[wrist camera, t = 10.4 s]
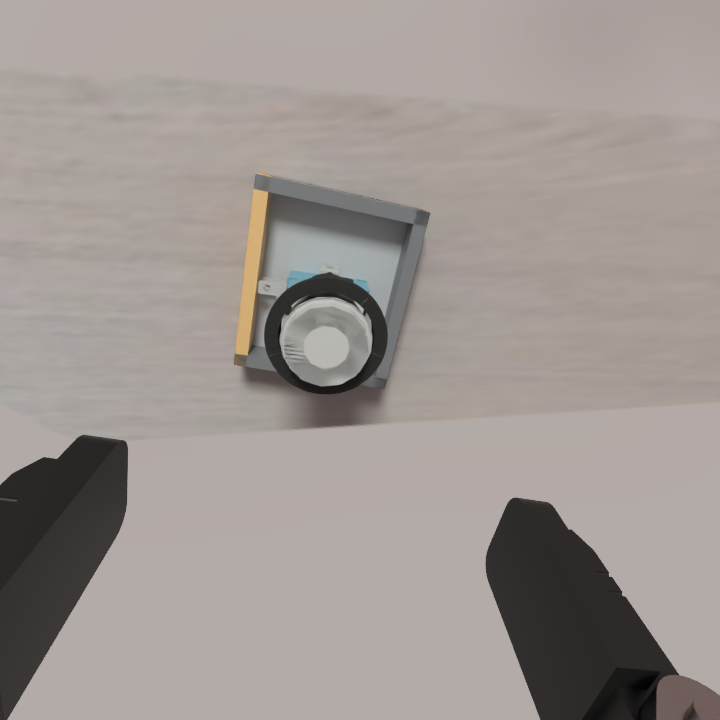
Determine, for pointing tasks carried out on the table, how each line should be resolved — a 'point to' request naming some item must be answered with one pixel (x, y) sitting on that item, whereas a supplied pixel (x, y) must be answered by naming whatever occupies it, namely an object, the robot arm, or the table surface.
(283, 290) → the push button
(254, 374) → the table surface
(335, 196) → the tray
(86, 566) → the robot arm
